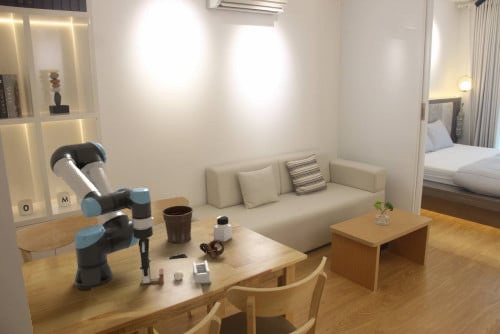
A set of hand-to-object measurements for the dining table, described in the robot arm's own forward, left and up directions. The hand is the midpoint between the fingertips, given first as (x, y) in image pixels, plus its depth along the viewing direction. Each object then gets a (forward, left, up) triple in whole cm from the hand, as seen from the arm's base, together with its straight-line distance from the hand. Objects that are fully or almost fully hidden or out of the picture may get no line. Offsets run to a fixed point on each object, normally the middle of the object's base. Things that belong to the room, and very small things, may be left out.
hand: (146, 280), depth 165 cm
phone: (+15, +18, -3) cm, 24 cm away
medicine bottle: (+38, +42, -3) cm, 57 cm away
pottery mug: (+30, +23, -3) cm, 38 cm away
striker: (+2, 0, -1) cm, 2 cm away
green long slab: (+10, 0, -3) cm, 11 cm away
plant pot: (+15, +47, -3) cm, 49 cm away
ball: (+13, 0, 0) cm, 13 cm away
